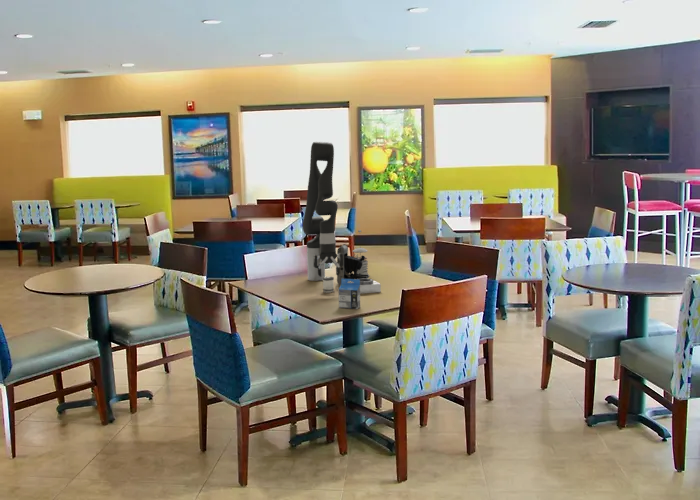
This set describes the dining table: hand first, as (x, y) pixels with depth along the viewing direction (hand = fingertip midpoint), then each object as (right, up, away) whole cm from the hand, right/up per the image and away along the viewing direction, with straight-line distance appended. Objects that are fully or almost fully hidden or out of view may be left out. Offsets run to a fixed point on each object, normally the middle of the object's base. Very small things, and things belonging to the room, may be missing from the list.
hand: (328, 275), depth 341 cm
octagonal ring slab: (+17, -8, 0) cm, 18 cm away
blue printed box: (+10, -13, -34) cm, 38 cm away
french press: (+16, -2, +41) cm, 44 cm away
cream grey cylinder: (0, -8, +1) cm, 8 cm away
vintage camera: (+12, -5, +20) cm, 24 cm away
